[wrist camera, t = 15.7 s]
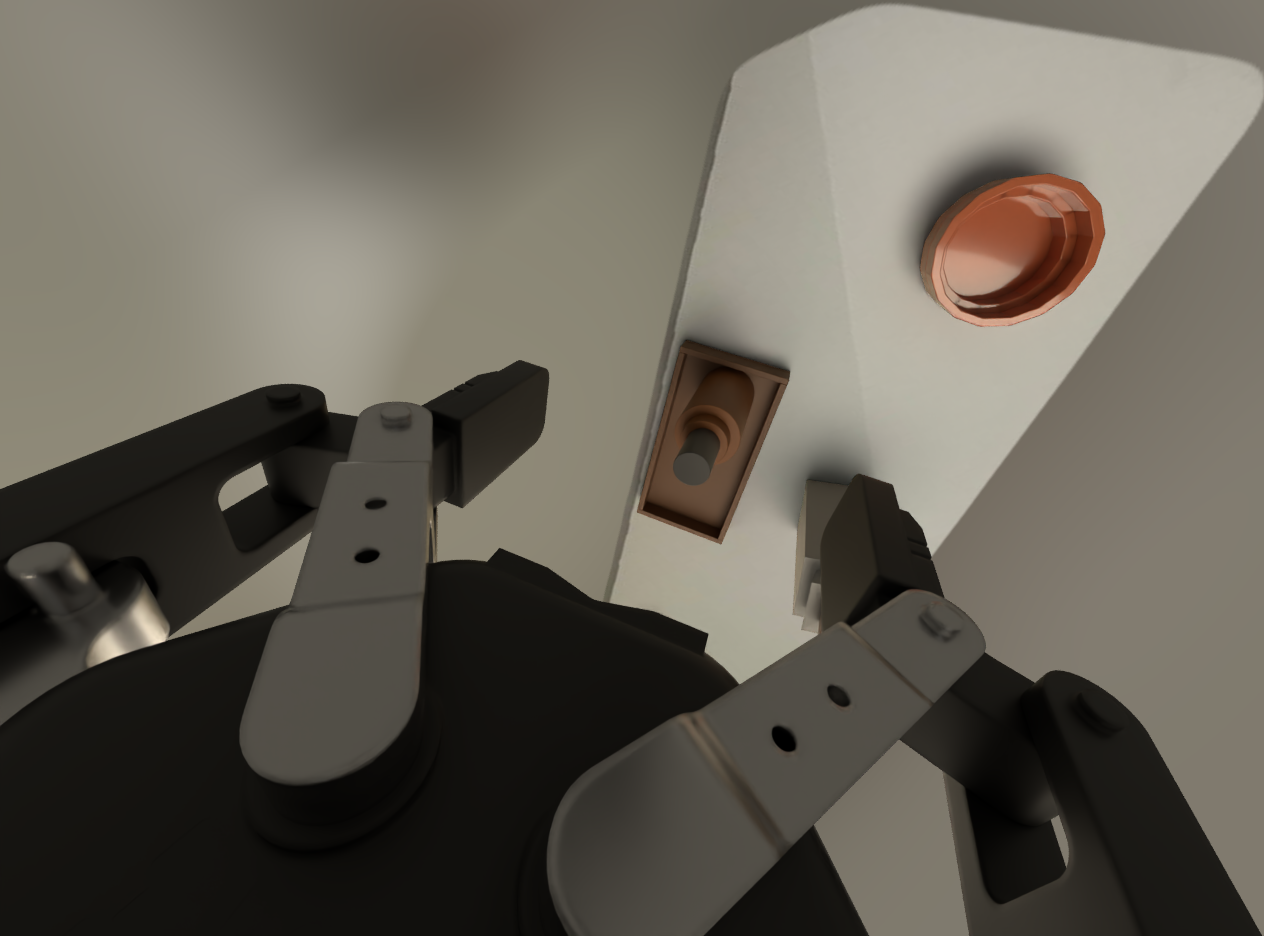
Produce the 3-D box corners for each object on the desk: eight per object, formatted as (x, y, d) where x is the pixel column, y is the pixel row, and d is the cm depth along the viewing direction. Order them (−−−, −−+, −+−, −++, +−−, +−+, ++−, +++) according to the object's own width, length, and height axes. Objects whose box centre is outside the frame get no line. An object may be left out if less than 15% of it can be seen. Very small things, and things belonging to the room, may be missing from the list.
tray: (686, 339, 48) (680, 346, 46) (790, 371, 46) (789, 379, 44) (642, 501, 59) (636, 512, 57) (724, 531, 57) (721, 544, 55)
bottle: (691, 378, 49) (642, 448, 35) (741, 357, 46) (710, 424, 32) (713, 425, 50) (674, 509, 36) (762, 407, 48) (741, 491, 34)
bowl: (905, 221, 37) (916, 223, 33) (1056, 149, 33) (1091, 141, 29) (936, 332, 40) (950, 346, 36) (1079, 280, 36) (1114, 289, 32)
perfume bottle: (797, 530, 54) (790, 653, 39) (806, 479, 51) (803, 593, 36) (860, 541, 52) (879, 675, 37) (875, 489, 49) (902, 614, 34)
